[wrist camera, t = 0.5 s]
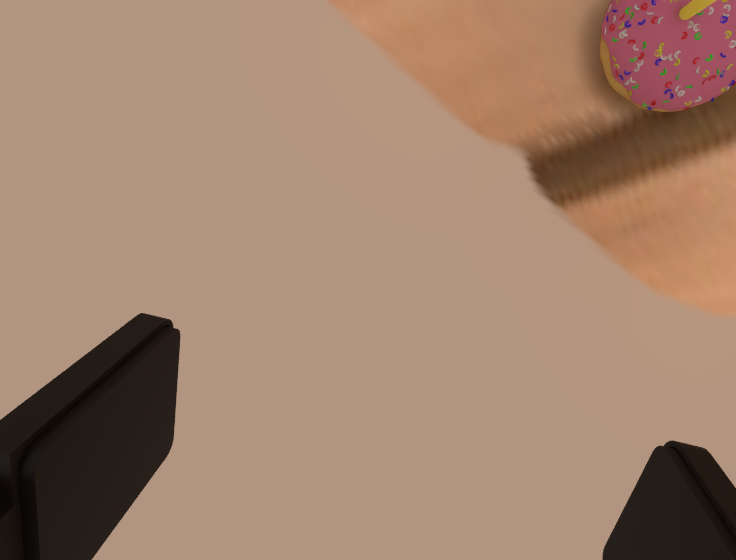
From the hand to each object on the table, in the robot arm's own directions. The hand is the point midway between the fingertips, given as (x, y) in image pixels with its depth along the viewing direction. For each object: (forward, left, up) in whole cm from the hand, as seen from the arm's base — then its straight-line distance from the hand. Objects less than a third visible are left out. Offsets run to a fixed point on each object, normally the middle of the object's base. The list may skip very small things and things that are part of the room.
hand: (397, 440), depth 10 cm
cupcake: (-12, +12, -30) cm, 35 cm away
